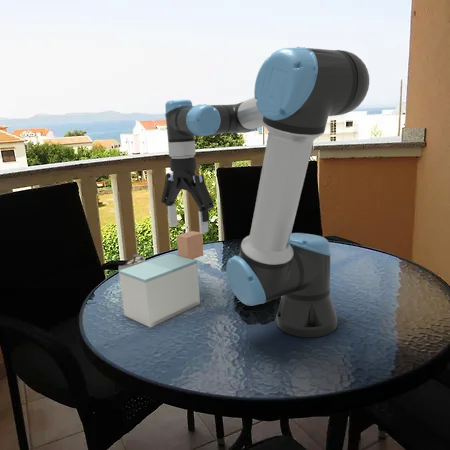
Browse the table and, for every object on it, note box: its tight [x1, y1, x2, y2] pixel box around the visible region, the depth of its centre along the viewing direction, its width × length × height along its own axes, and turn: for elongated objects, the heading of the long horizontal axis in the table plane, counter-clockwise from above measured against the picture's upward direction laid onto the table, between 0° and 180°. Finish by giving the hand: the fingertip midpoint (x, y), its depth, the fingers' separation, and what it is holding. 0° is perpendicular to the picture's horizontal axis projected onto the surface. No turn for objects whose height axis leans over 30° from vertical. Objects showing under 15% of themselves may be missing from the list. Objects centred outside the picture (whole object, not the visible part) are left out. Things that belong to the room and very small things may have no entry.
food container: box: [117, 254, 146, 272], centre depth 133 cm, size 12×6×10 cm, turn 168°
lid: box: [118, 230, 204, 283], centre depth 116 cm, size 12×24×7 cm, turn 137°
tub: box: [118, 262, 201, 328], centre depth 116 cm, size 12×18×12 cm, turn 137°
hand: (188, 229), depth 122 cm, fingers open, 13 cm apart
